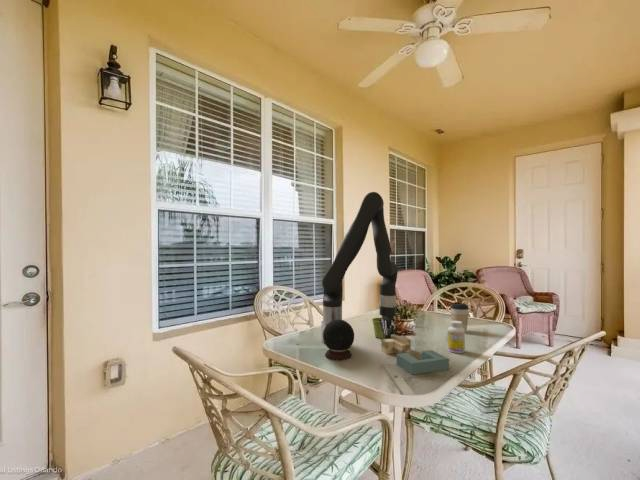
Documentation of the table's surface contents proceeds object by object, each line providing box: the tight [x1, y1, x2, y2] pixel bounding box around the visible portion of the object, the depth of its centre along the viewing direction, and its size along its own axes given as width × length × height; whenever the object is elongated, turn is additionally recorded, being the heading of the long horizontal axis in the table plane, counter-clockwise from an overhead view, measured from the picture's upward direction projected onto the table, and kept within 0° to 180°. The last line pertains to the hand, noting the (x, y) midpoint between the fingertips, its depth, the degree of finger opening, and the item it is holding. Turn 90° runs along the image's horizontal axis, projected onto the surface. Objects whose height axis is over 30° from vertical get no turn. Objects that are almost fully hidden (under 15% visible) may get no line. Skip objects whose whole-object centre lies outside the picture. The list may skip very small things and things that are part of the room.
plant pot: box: [371, 317, 385, 340], centre depth 161 cm, size 9×9×9 cm
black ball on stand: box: [323, 319, 355, 362], centre depth 134 cm, size 13×13×15 cm
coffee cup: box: [450, 301, 469, 333], centre depth 171 cm, size 9×9×15 cm
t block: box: [380, 336, 412, 355], centre depth 137 cm, size 12×10×5 cm
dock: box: [396, 349, 450, 376], centre depth 121 cm, size 16×10×4 cm, turn 107°
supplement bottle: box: [447, 320, 466, 354], centre depth 139 cm, size 7×7×13 cm
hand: (387, 342), depth 146 cm, fingers closed
